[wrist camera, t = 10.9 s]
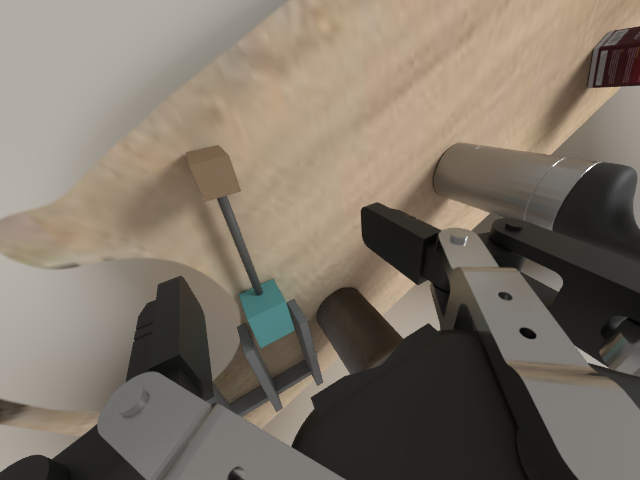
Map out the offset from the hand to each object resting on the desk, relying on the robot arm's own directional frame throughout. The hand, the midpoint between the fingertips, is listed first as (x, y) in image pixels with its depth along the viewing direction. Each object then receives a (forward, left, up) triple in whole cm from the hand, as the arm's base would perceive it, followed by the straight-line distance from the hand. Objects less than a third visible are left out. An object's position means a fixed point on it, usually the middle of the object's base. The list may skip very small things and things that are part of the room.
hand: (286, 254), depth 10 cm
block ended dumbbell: (+1, +10, -18) cm, 21 cm away
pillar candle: (-11, +30, -19) cm, 37 cm away
